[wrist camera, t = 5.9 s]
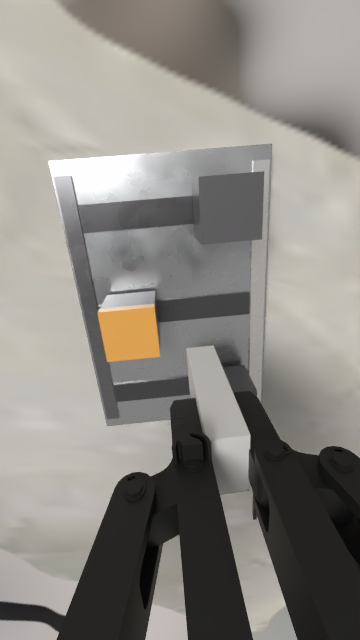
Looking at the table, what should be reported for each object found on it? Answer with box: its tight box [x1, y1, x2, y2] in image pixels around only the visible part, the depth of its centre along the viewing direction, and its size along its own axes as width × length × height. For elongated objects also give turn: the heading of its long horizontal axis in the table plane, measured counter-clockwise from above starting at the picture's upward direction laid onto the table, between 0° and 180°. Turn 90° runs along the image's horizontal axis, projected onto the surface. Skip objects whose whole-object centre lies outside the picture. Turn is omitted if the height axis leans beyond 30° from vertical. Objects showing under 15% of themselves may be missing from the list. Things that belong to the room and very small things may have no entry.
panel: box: [48, 144, 272, 426], centre depth 26 cm, size 16×24×2 cm, turn 4°
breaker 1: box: [192, 171, 264, 245], centre depth 20 cm, size 4×4×4 cm
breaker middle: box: [97, 291, 160, 362], centre depth 23 cm, size 4×4×4 cm
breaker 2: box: [223, 365, 257, 396], centre depth 26 cm, size 4×4×4 cm
